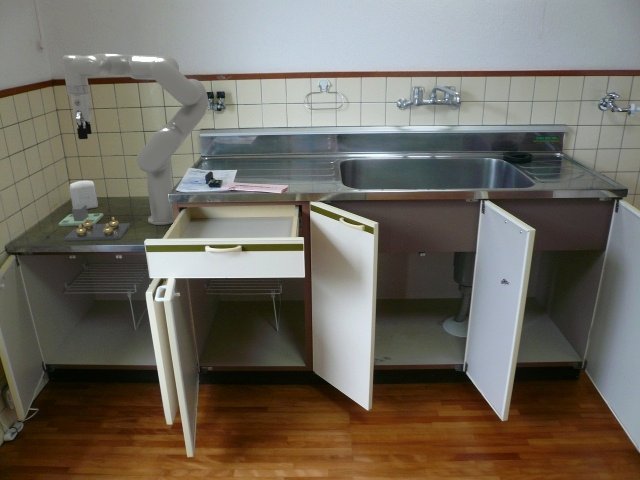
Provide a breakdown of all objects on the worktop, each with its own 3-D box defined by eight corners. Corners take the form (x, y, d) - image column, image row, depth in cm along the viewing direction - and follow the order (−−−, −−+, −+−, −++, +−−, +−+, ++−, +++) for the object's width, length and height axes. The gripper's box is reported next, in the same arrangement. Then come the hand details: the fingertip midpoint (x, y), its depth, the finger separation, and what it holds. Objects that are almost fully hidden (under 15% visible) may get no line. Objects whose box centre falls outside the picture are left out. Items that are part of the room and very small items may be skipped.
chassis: (130, 226, 210) (128, 214, 208) (119, 239, 197) (117, 226, 196) (79, 227, 210) (77, 215, 208) (65, 240, 197) (62, 228, 195)
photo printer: (97, 204, 236) (92, 178, 231) (99, 207, 233) (94, 180, 228) (72, 209, 231) (67, 181, 226) (74, 212, 227) (68, 184, 223)
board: (103, 215, 222) (101, 202, 220) (94, 224, 212) (91, 210, 210) (69, 216, 222) (67, 202, 220) (58, 225, 212) (55, 211, 209)
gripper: (85, 92, 189) (92, 140, 196) (92, 87, 205) (98, 131, 211) (62, 93, 187) (70, 141, 194) (71, 87, 203) (78, 132, 209)
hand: (85, 136), depth 202 cm, fingers open, 9 cm apart
